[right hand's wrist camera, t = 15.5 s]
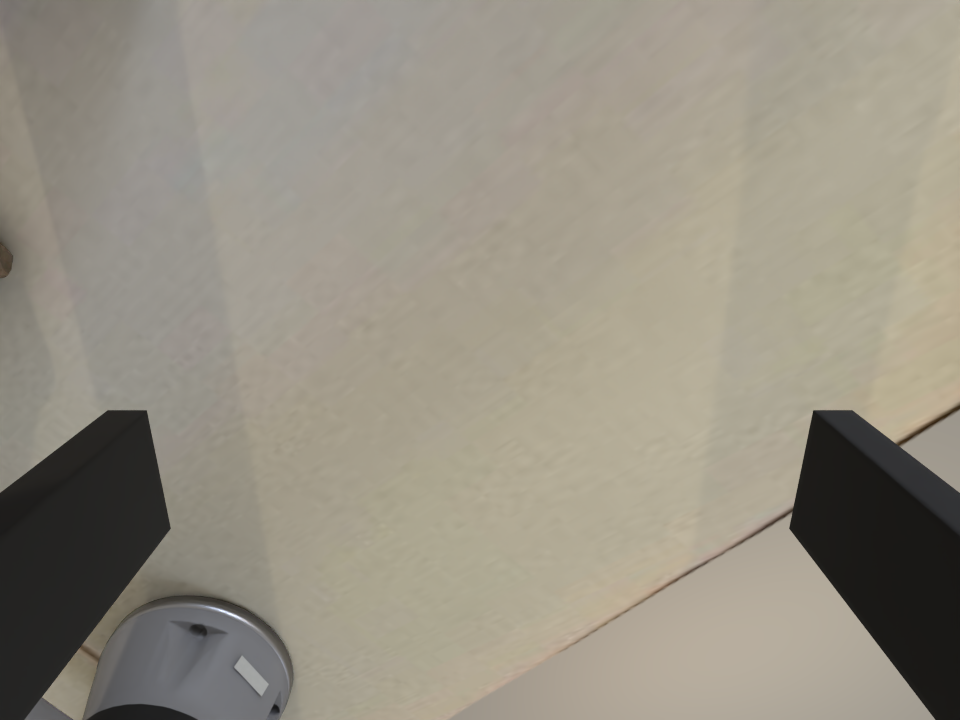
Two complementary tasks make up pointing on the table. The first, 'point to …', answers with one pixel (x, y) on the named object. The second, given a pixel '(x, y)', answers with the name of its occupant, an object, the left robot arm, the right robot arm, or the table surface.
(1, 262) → the stone
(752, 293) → the table surface
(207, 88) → the table surface
